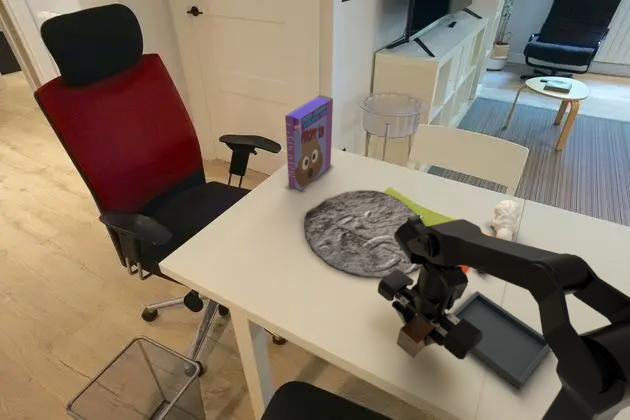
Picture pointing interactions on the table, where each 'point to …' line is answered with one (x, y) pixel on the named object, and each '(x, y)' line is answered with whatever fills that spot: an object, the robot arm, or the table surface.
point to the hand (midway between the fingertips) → (418, 336)
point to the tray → (503, 339)
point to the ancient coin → (359, 233)
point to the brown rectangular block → (414, 335)
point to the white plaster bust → (505, 219)
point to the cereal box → (309, 141)
